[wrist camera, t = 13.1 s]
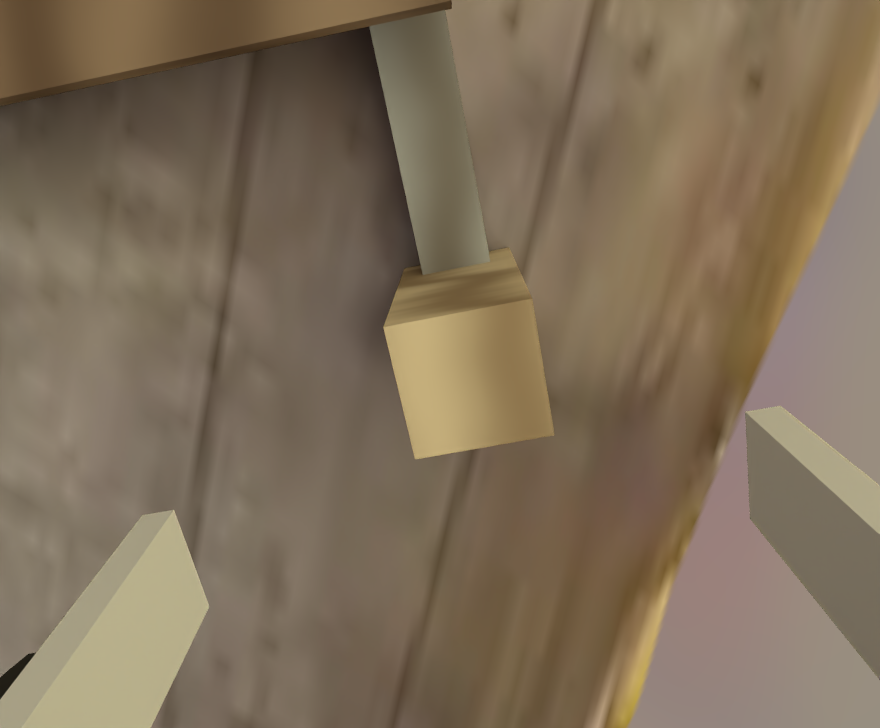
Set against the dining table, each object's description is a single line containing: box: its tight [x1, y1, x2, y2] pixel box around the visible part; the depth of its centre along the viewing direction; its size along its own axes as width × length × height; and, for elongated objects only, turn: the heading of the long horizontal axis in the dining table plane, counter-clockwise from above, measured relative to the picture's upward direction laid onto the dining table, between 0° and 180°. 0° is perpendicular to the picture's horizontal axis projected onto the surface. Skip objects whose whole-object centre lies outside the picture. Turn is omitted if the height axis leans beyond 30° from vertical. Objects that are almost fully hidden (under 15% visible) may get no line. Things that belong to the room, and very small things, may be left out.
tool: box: [369, 10, 554, 459], centre depth 25 cm, size 5×22×10 cm, turn 12°
